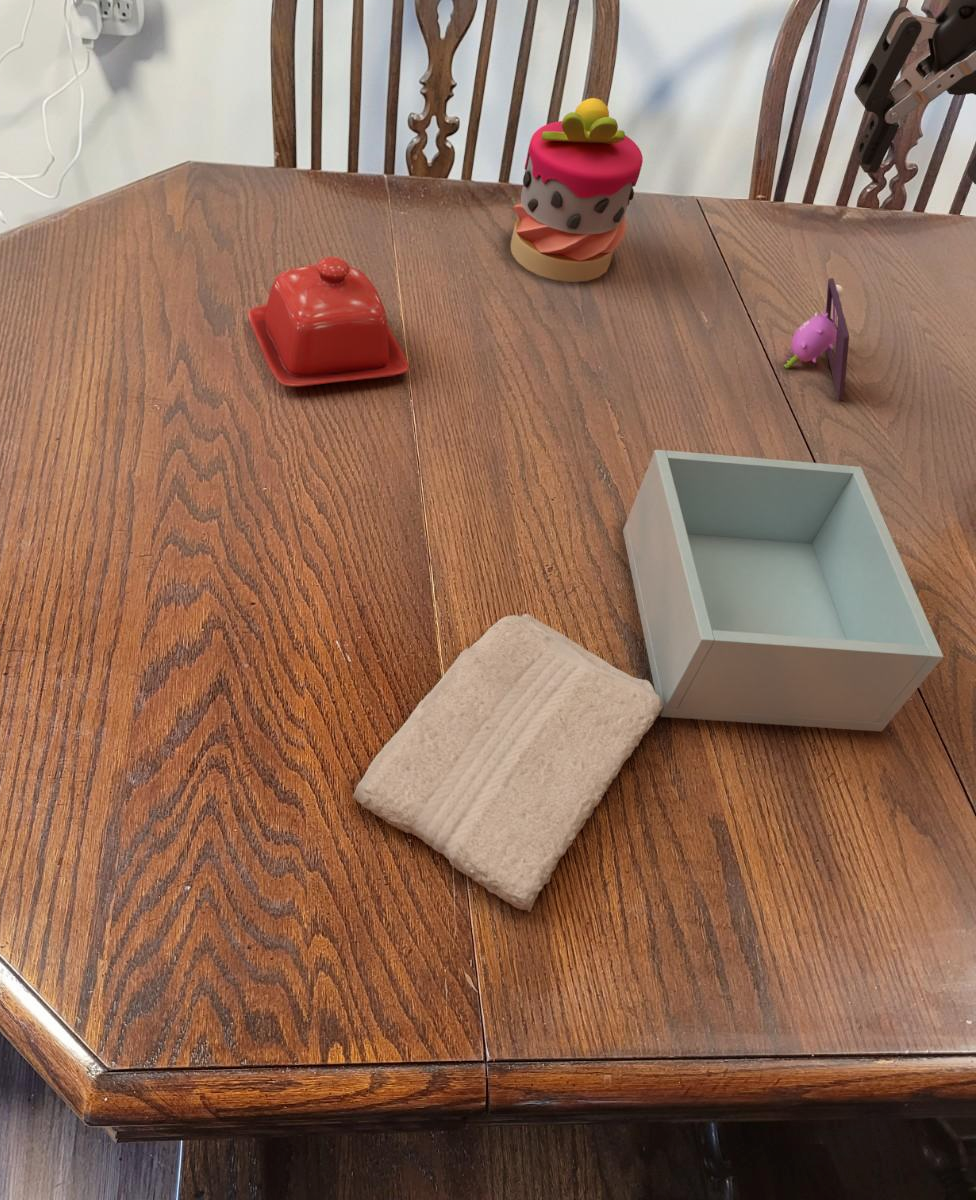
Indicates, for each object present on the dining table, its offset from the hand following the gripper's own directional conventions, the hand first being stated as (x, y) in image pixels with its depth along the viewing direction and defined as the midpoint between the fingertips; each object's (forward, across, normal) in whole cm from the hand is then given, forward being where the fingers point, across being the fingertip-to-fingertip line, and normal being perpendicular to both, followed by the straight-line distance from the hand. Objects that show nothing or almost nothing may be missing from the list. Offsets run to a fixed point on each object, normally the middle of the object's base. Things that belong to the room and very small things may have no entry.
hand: (921, 174), depth 77 cm
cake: (+20, -20, +18) cm, 33 cm away
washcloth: (+20, -30, -40) cm, 54 cm away
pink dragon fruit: (+20, 0, +2) cm, 20 cm away
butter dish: (+20, -43, -1) cm, 47 cm away
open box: (+19, -13, -28) cm, 37 cm away
